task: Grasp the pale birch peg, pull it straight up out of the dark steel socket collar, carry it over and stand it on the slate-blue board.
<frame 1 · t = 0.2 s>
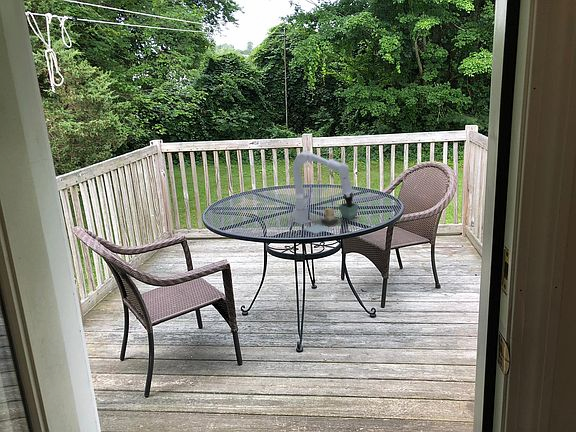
hand: (349, 205, 279), 11 cm above the table, tool pointing down, fingers open, 7 cm apart
board: (316, 229, 272), on the table
flower pot: (349, 218, 290), on the table
peg: (329, 221, 284), point 1 cm above the table, touching socket base
socket base: (329, 222, 285), on the table
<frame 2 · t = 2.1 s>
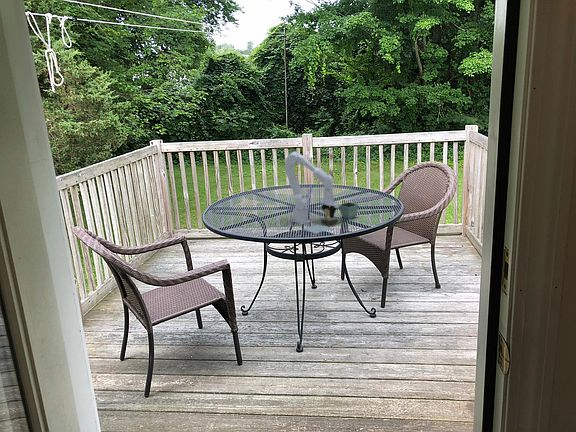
hand: (329, 217, 284), 3 cm above the table, tool pointing down, fingers closed on peg, 4 cm apart
peg: (329, 221, 284), point 1 cm above the table, touching gripper, socket base
everything else where it was.
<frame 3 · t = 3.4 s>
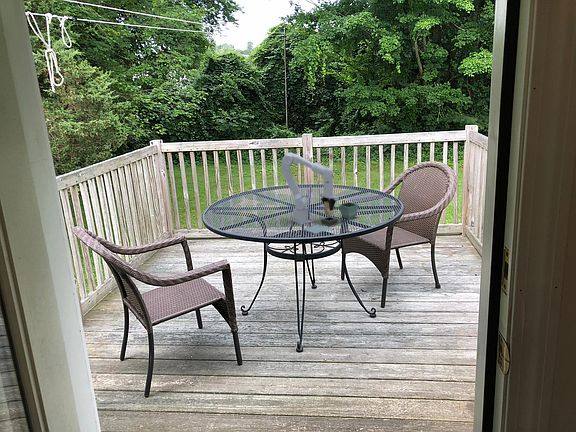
hand: (329, 209, 282), 8 cm above the table, tool pointing down, fingers closed on peg, 4 cm apart
peg: (329, 214, 283), point 5 cm above the table, touching gripper
everything else where it was.
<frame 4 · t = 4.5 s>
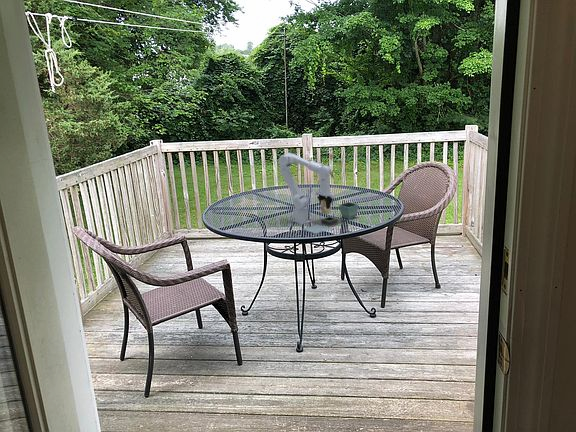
hand: (325, 207, 278), 10 cm above the table, tool pointing down, fingers closed on peg, 4 cm apart
peg: (326, 212, 279), point 7 cm above the table, touching gripper
everything else where it was.
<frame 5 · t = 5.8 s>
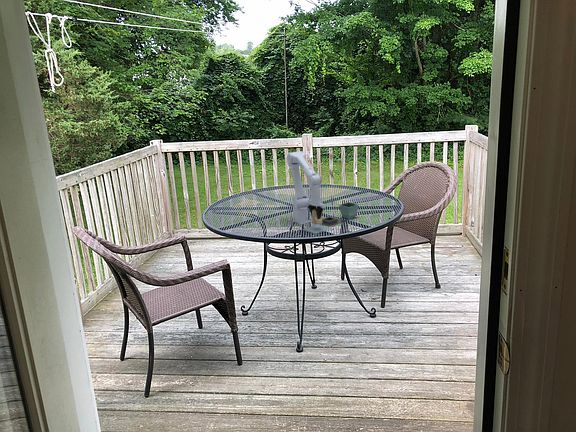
hand: (316, 218, 270), 7 cm above the table, tool pointing down, fingers closed on peg, 4 cm apart
peg: (317, 223, 271), point 4 cm above the table, touching gripper
everything else where it was.
when the fingers open (5 cm above the table, at t = 7.0 s): peg drops 1 cm, resting on board.
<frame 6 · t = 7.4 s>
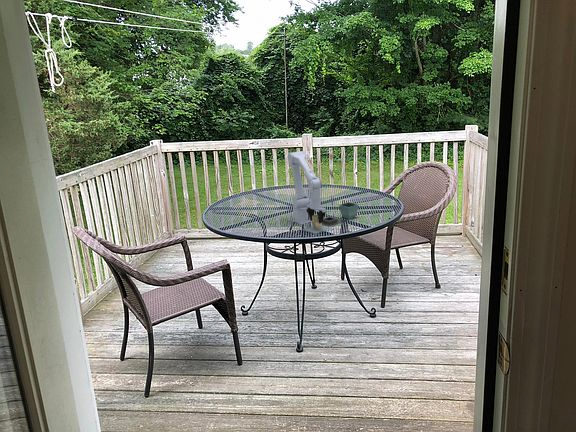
hand: (316, 221, 271), 5 cm above the table, tool pointing down, fingers open, 7 cm apart
peg: (317, 228, 272), point 1 cm above the table, touching board
everything else where it was.
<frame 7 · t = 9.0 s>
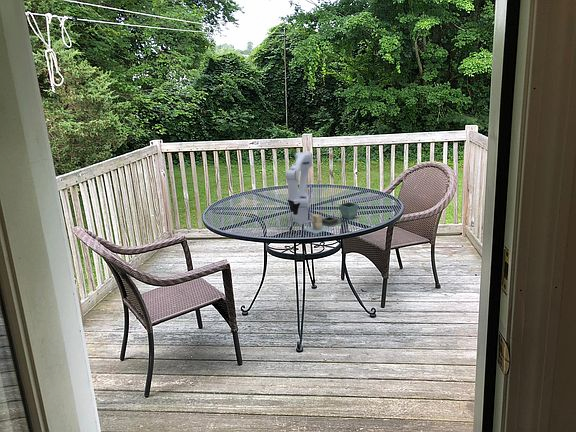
hand: (294, 212, 272), 10 cm above the table, tool pointing down, fingers open, 7 cm apart
nothing on the table moved.
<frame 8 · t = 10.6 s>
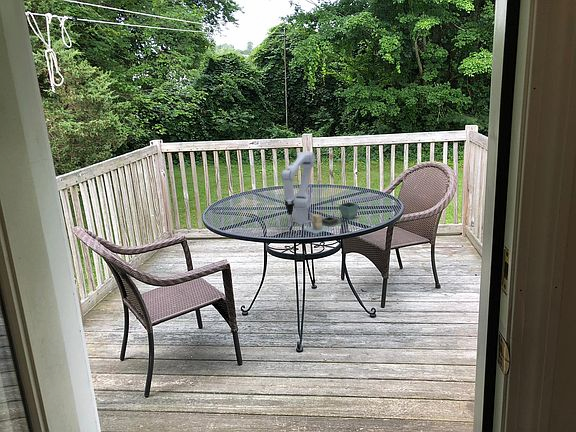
hand: (289, 212, 272), 10 cm above the table, tool pointing down, fingers open, 7 cm apart
nothing on the table moved.
at the end: peg inside the target area on the board (0.6 cm from its centre), point 0.6 cm above the board's base; peg tilted 0°; the gripper is holding nothing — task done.
